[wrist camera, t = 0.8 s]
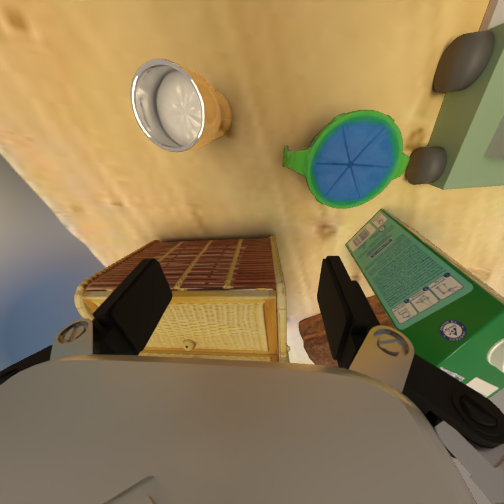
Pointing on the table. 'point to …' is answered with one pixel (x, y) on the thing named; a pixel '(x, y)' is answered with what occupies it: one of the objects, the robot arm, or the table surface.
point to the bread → (317, 337)
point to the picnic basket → (208, 299)
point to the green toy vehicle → (468, 112)
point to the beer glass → (177, 106)
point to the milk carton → (434, 302)
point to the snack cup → (351, 159)
